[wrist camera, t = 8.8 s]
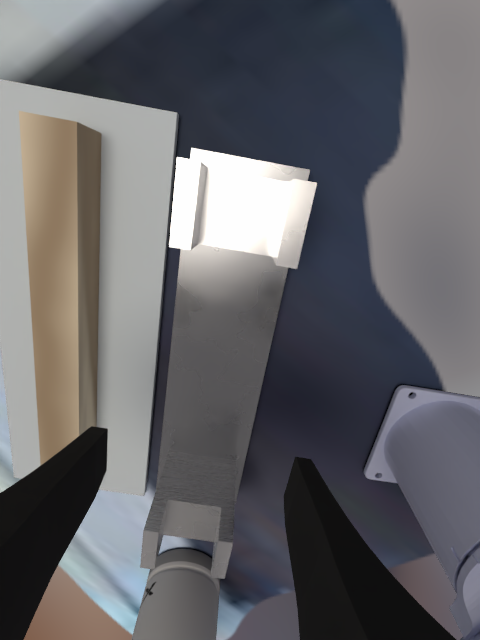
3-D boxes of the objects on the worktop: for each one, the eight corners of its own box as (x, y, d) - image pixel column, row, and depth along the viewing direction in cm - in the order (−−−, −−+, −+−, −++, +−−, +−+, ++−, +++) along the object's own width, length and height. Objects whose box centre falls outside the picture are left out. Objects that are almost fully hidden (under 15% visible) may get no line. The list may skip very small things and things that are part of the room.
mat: (178, 115, 16) (176, 112, 16) (145, 490, 25) (144, 496, 25) (-20, 77, 16) (-28, 73, 15) (18, 472, 25) (14, 477, 24)
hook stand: (306, 172, 17) (342, 153, 11) (236, 489, 25) (232, 591, 19) (194, 151, 17) (161, 119, 10) (160, 478, 25) (128, 577, 18)
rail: (101, 133, 16) (76, 121, 14) (95, 474, 24) (79, 504, 22) (51, 123, 16) (18, 110, 14) (62, 469, 24) (42, 498, 22)
